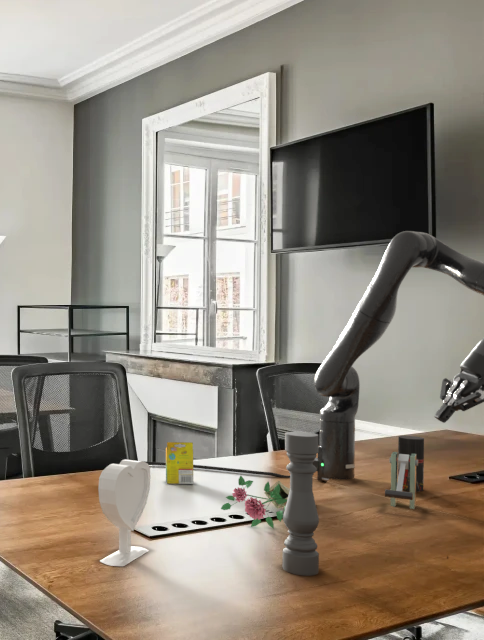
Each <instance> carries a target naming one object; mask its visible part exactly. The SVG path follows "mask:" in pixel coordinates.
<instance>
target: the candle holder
mask: <svg viewBox="0 0 484 640" xmlns="http://www.w3.org/2000/svg"><path fill="white" fill-rule="evenodd" d="M318 447H319V434H318V433H314V432H308V431H286V432H285V433H284V451H286V456H287V457H288V460H289V463H288V464H287V465H286V466H285V468H286V471H288V473H289V476H290V478H289V488H290V491H289V495H288V499H287V503H286V507H285V511H284V510H283V517H282V520H283V523H284V526H285V527H286V528H287V529H288V530H287V533H288V534H289V535H288V536H287V537H286V538H285V540H284V542H283V543H284V546H285V547H283V549H282V569H283V571H285V572H287V573H290V574H293V575H298V576H309V577H310V576H315V575H319V569H320V568H319V566H320V564H319V563H320V556H319V555H320V553H319V552H318V551H317V549H318V543H317V542H316V541H315V539H314V537H313V536H314V535H315V533H314V532H315V531H316V530H317V528H318V526H319V523H320V518H319V512H318V509H317V505H316V504H317V503H316V500H315V496H314V492H313V491H314V490H313V487H314V485H313V483H314V482H313V481H314V480H313V479H314V478H313V477H314V474H315V473H316V472H317V468H316V467H315V466H314V465H313V462H314V459H315V458H317V457H318Z"/></svg>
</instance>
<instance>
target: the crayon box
mask: <svg viewBox="0 0 484 640" xmlns="http://www.w3.org/2000/svg"><path fill="white" fill-rule="evenodd" d="M193 444H194V442H190V441H189V442H185V441H182V442H180V441H178V442H177V441H167V442H166V447H165V463H166V466H165V482H166V484H167V485H171V484H172V485H173V484H174V485H194V484H195V483H194V481H195V480H194V468H193V465H194V445H193ZM177 445H178V446H177ZM179 445H183V446H180V447H179Z"/></svg>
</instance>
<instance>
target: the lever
mask: <svg viewBox="0 0 484 640" xmlns="http://www.w3.org/2000/svg"><path fill="white" fill-rule="evenodd" d="M398 468H400V470H399V477H398V476H397V490H396V491H395V490H391V489H387V488H385V489H384V497H385V498H390V499H391V498H397V499H400V500H409V501H410V500H413V493H412V492H410V491H405V490H403V483H404V476H405V470H406V469H409V455H407V454H399V457H398V467H397V469H398Z"/></svg>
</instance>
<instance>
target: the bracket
mask: <svg viewBox="0 0 484 640" xmlns="http://www.w3.org/2000/svg"><path fill="white" fill-rule="evenodd" d="M390 455H391V456H389V459H388V460H389V461H388V462H389V464H390V490H395V491H396V490H397V483H398V451H392V453H391V454H390ZM416 466H418V460H416V454H411V456H410V491H409V492H412V493H413V500H409V509H411V510H415V508H416V506H417V492H416ZM397 504H398V498H391V497H390V507H396V506H397Z"/></svg>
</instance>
